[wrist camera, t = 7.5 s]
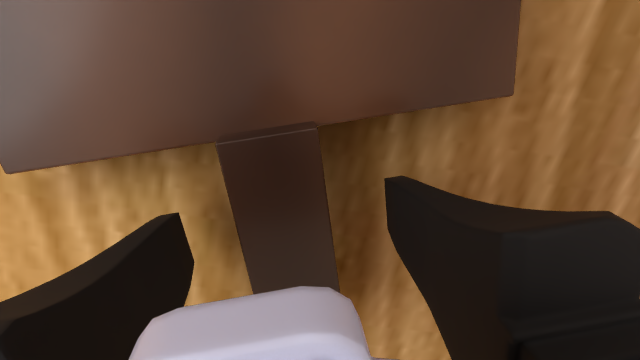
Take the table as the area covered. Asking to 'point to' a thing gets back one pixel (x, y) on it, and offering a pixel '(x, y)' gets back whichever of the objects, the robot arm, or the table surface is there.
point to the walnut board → (241, 94)
